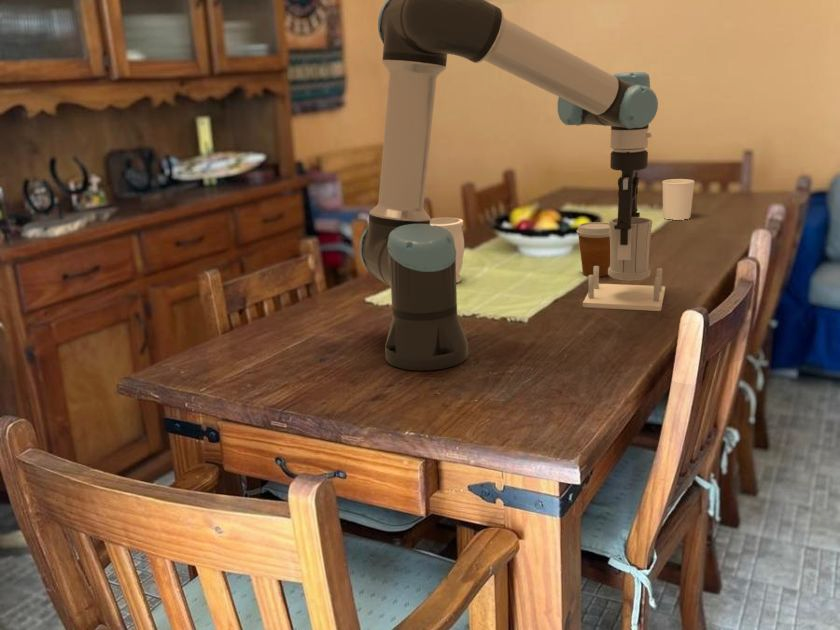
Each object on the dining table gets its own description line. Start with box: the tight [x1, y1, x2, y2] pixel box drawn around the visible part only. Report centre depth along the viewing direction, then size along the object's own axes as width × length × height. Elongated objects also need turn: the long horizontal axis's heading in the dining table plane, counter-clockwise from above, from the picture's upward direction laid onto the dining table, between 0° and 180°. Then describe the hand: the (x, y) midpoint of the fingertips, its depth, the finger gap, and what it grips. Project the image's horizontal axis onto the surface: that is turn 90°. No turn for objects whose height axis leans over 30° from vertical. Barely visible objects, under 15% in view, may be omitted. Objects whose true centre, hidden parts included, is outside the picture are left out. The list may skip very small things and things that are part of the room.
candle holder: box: [661, 178, 695, 221], centre depth 260 cm, size 10×10×12 cm
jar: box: [430, 216, 465, 284], centre depth 197 cm, size 11×10×15 cm
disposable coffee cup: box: [576, 221, 610, 278], centre depth 197 cm, size 10×10×12 cm
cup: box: [607, 216, 653, 281], centre depth 173 cm, size 10×9×12 cm
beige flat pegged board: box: [582, 266, 666, 312], centre depth 176 cm, size 16×16×6 cm
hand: (626, 253), depth 174 cm, fingers closed on cup, 11 cm apart
